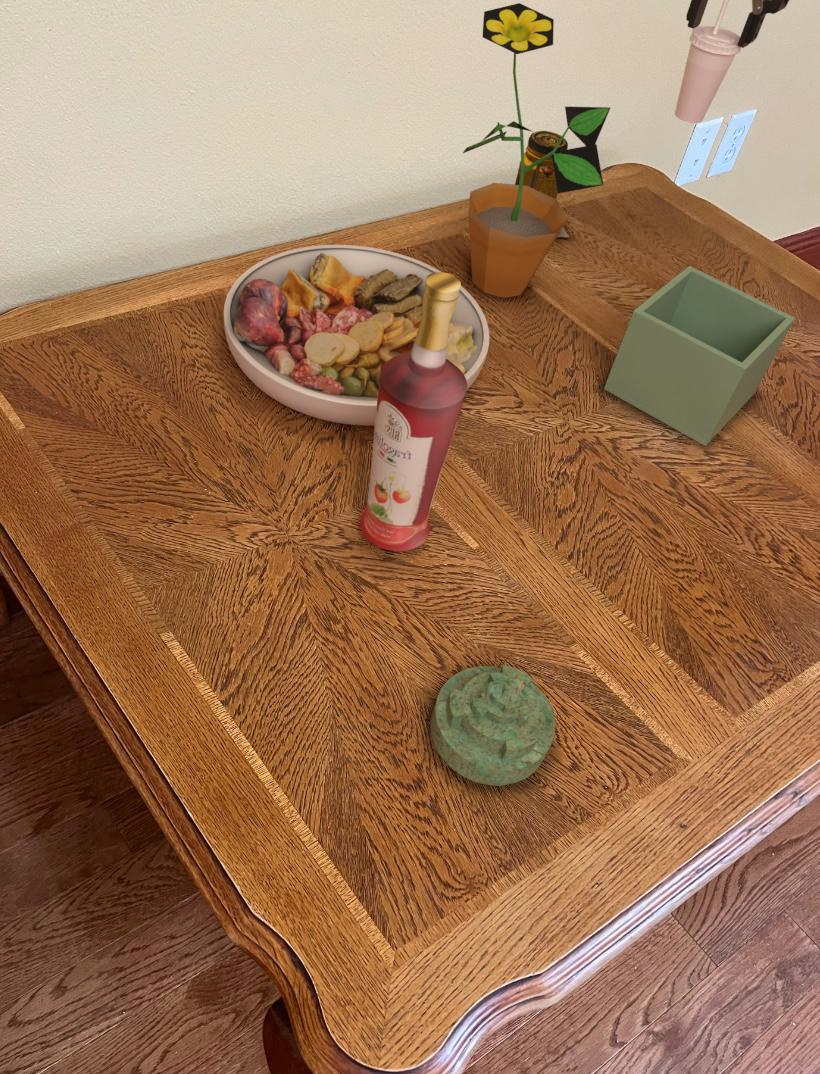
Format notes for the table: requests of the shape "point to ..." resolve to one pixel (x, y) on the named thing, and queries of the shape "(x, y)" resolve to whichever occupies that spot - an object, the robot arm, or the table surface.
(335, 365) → the bowl
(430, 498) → the liquor
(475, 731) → the decorative artifact
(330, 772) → the table surface
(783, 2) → the robot arm
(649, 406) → the bin
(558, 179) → the potted plant
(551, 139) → the condiment
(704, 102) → the smoothie
